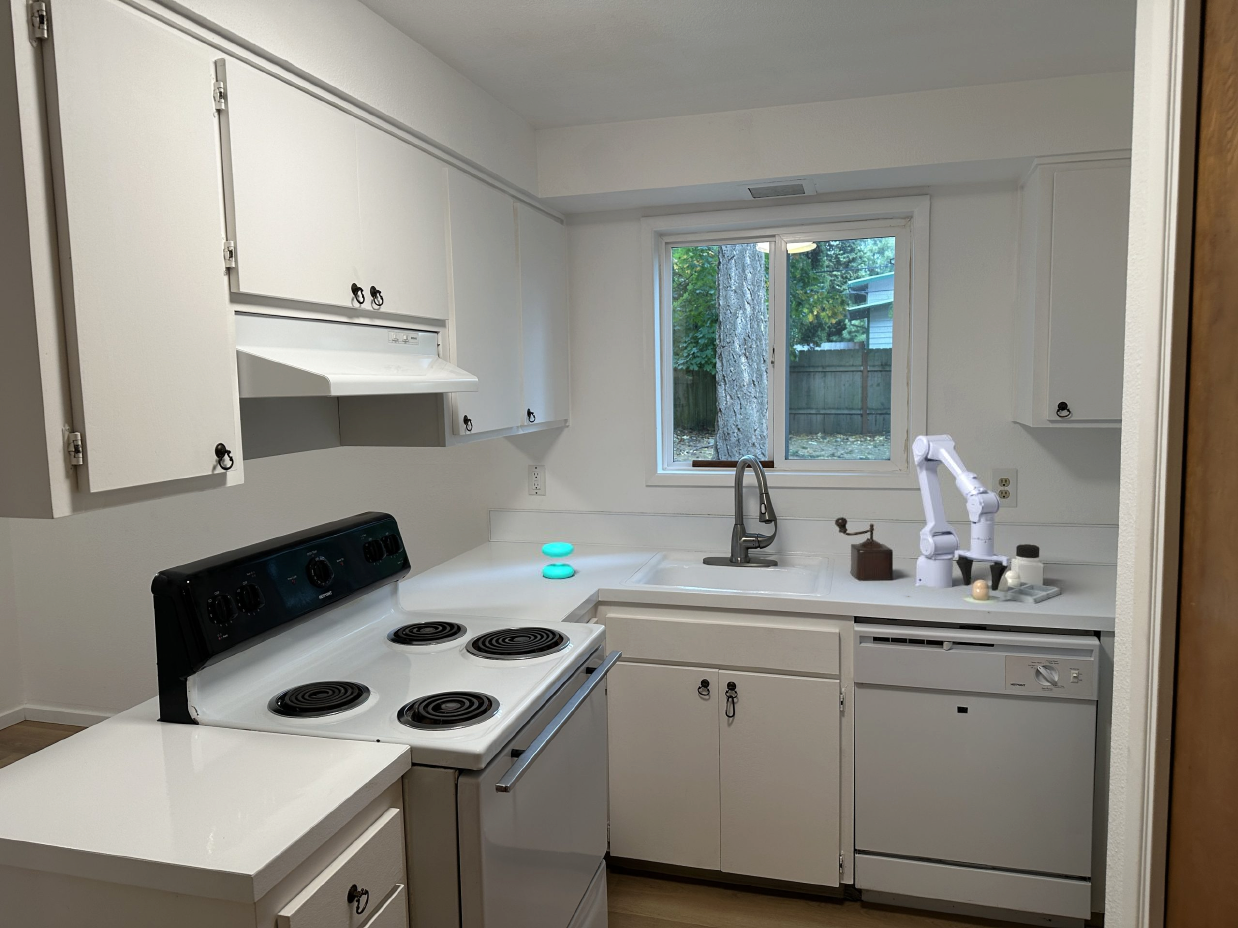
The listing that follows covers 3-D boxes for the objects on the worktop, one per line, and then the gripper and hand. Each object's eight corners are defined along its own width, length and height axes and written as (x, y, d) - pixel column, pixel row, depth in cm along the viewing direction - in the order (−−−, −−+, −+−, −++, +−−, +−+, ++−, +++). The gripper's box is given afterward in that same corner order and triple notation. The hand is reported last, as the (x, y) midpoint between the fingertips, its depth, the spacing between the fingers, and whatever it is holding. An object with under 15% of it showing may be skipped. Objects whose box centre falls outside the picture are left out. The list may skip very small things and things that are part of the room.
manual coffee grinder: (882, 572, 271) (883, 515, 269) (893, 580, 260) (894, 521, 258) (832, 573, 271) (833, 516, 269) (841, 581, 260) (842, 522, 258)
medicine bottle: (1043, 589, 247) (1044, 547, 245) (1016, 588, 248) (1017, 547, 247) (1036, 583, 253) (1037, 542, 252) (1010, 582, 255) (1011, 542, 254)
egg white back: (1002, 588, 245) (1002, 570, 244) (1008, 586, 247) (1009, 568, 247) (1016, 590, 242) (1016, 572, 241) (1022, 588, 244) (1023, 570, 244)
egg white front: (989, 592, 240) (989, 574, 240) (996, 590, 243) (996, 572, 242) (1003, 595, 237) (1003, 576, 236) (1010, 592, 240) (1010, 574, 239)
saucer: (956, 601, 234) (956, 598, 234) (973, 595, 240) (973, 593, 240) (988, 607, 228) (988, 604, 227) (1005, 601, 233) (1005, 599, 233)
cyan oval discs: (556, 540, 279) (580, 543, 273) (557, 571, 280) (580, 575, 274) (535, 545, 272) (558, 548, 265) (535, 576, 272) (559, 581, 266)
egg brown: (969, 598, 234) (970, 579, 234) (977, 596, 237) (977, 577, 236) (983, 601, 231) (984, 582, 231) (991, 598, 234) (991, 580, 233)
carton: (978, 595, 240) (978, 587, 240) (1005, 586, 250) (1005, 578, 250) (1034, 606, 229) (1034, 598, 228) (1060, 596, 238) (1060, 588, 238)
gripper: (1016, 539, 229) (1014, 589, 231) (964, 532, 240) (963, 580, 242) (1003, 542, 225) (1001, 594, 226) (951, 535, 236) (949, 584, 237)
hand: (981, 587), depth 234 cm, fingers open, 7 cm apart
